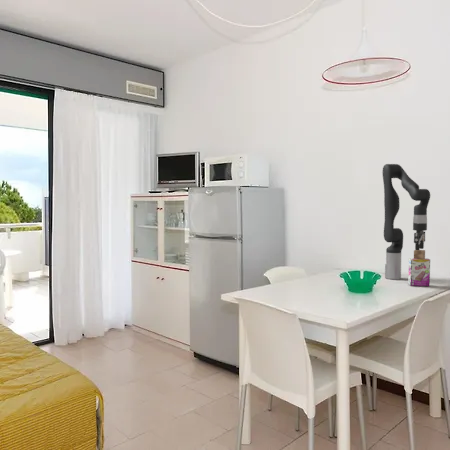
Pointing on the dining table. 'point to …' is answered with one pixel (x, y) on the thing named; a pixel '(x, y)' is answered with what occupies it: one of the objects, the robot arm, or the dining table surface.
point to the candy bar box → (419, 272)
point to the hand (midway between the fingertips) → (419, 249)
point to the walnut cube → (419, 254)
